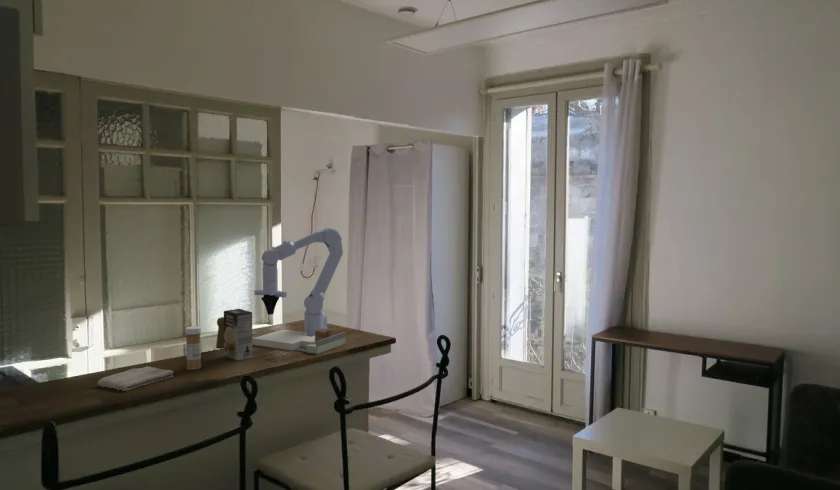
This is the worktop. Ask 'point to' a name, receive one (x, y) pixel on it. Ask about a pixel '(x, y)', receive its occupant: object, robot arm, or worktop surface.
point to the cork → (220, 333)
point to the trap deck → (299, 341)
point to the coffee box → (238, 334)
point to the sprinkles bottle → (193, 347)
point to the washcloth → (134, 378)
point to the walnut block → (322, 334)
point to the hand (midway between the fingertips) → (270, 314)
